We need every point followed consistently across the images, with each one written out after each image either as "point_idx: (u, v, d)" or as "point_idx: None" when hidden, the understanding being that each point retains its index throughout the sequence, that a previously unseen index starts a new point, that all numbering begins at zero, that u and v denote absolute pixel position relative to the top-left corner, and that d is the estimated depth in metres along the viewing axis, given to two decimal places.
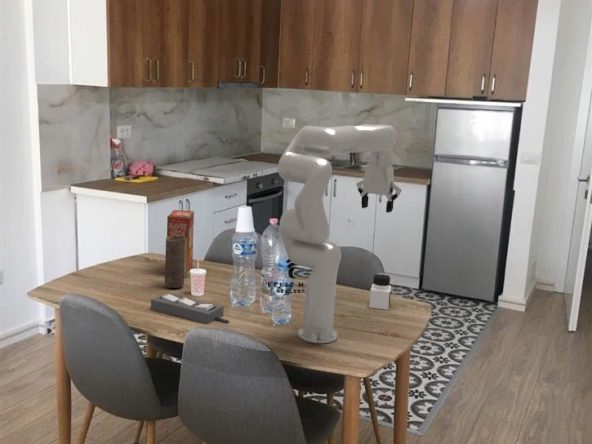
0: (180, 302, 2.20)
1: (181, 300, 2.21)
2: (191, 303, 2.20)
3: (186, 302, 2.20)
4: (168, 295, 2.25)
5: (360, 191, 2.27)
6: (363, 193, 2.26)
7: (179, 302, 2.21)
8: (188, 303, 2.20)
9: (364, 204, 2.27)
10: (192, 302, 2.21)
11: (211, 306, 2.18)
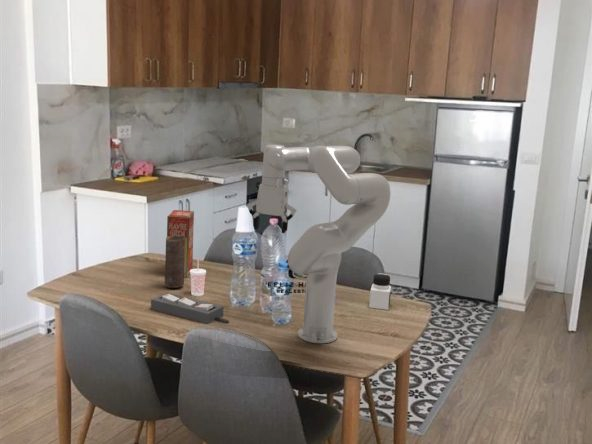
0: (180, 302, 2.20)
1: (181, 300, 2.21)
2: (191, 303, 2.20)
3: (186, 302, 2.20)
4: (168, 295, 2.25)
5: None
6: None
7: (179, 302, 2.21)
8: (188, 303, 2.20)
9: None
10: (192, 302, 2.21)
11: (211, 306, 2.18)
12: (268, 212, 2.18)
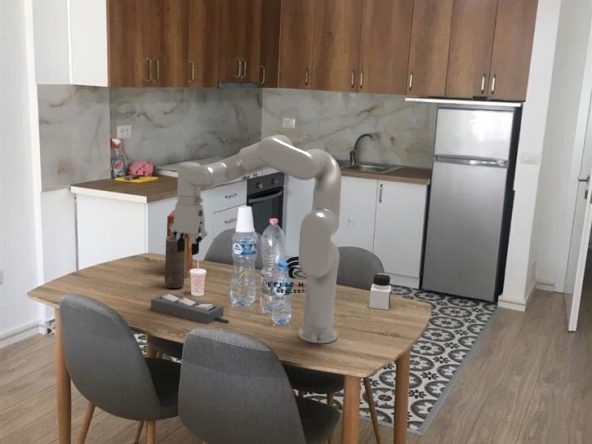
0: (180, 302, 2.20)
1: (181, 300, 2.21)
2: (191, 303, 2.20)
3: (186, 302, 2.20)
4: (168, 295, 2.25)
5: None
6: None
7: (179, 302, 2.21)
8: (188, 303, 2.20)
9: None
10: (192, 302, 2.21)
11: (211, 306, 2.18)
12: (183, 231, 2.14)
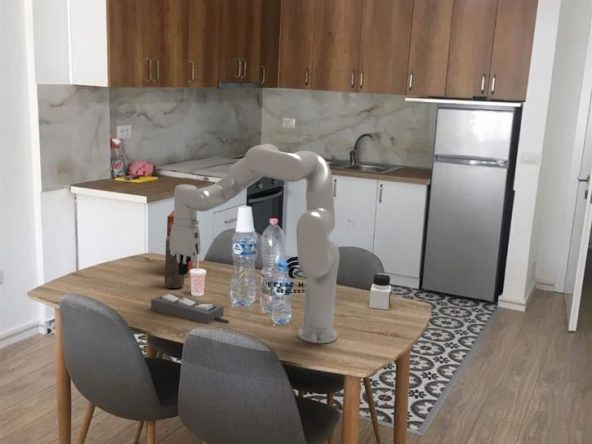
0: (180, 302, 2.20)
1: (181, 300, 2.21)
2: (191, 303, 2.20)
3: (186, 302, 2.20)
4: (168, 295, 2.25)
5: None
6: None
7: (179, 302, 2.21)
8: (188, 303, 2.20)
9: None
10: (192, 302, 2.21)
11: (211, 306, 2.18)
12: (179, 252, 2.16)
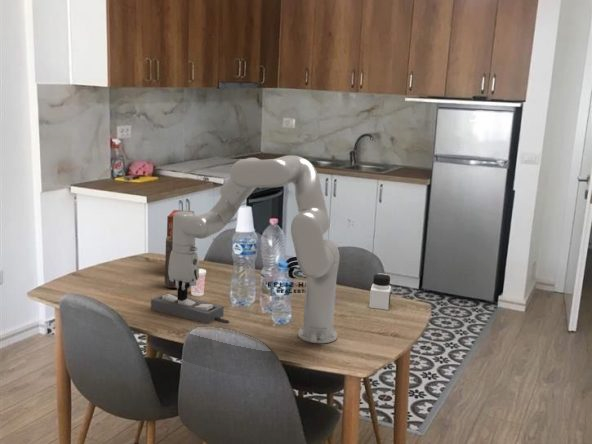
0: (180, 302, 2.20)
1: None
2: (191, 303, 2.20)
3: (186, 302, 2.20)
4: (168, 295, 2.25)
5: None
6: None
7: (179, 302, 2.21)
8: (188, 303, 2.20)
9: None
10: (192, 302, 2.21)
11: (211, 306, 2.18)
12: (178, 278, 2.19)
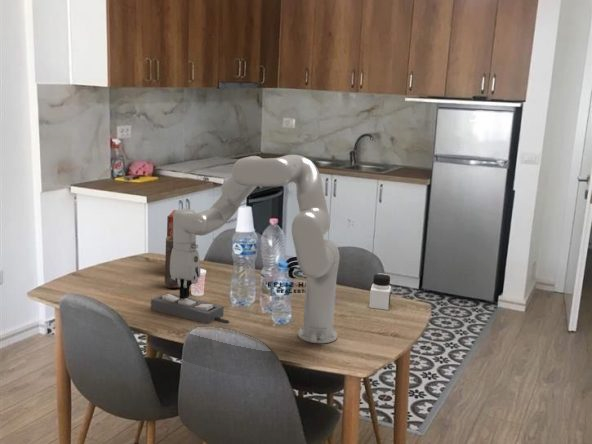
0: (180, 302, 2.20)
1: (181, 300, 2.21)
2: (191, 303, 2.20)
3: (186, 302, 2.20)
4: (168, 295, 2.25)
5: None
6: None
7: (179, 302, 2.21)
8: (188, 303, 2.20)
9: None
10: (192, 302, 2.21)
11: (211, 306, 2.18)
12: (179, 276, 2.18)
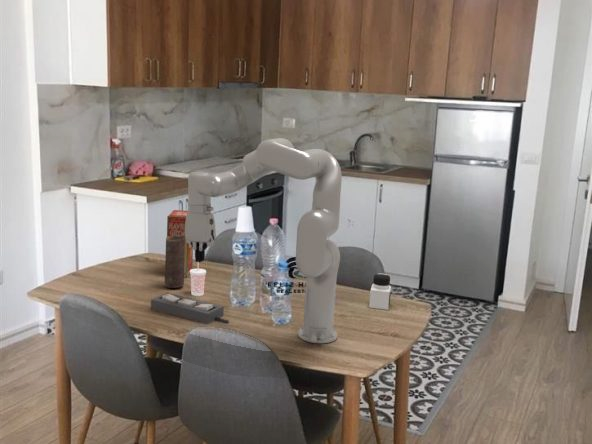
0: (180, 303, 2.20)
1: (181, 301, 2.21)
2: (191, 302, 2.20)
3: (186, 302, 2.20)
4: (168, 295, 2.25)
5: None
6: None
7: (179, 303, 2.21)
8: (188, 302, 2.20)
9: None
10: (192, 301, 2.21)
11: (211, 306, 2.18)
12: (195, 239, 2.19)
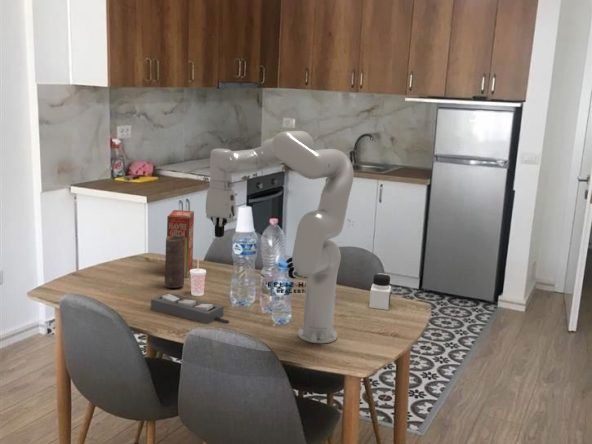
0: (180, 303, 2.20)
1: (181, 301, 2.21)
2: (191, 301, 2.20)
3: (186, 302, 2.20)
4: (168, 295, 2.25)
5: None
6: None
7: (179, 303, 2.21)
8: (188, 302, 2.20)
9: None
10: (192, 301, 2.21)
11: (211, 306, 2.18)
12: (215, 214, 2.23)
